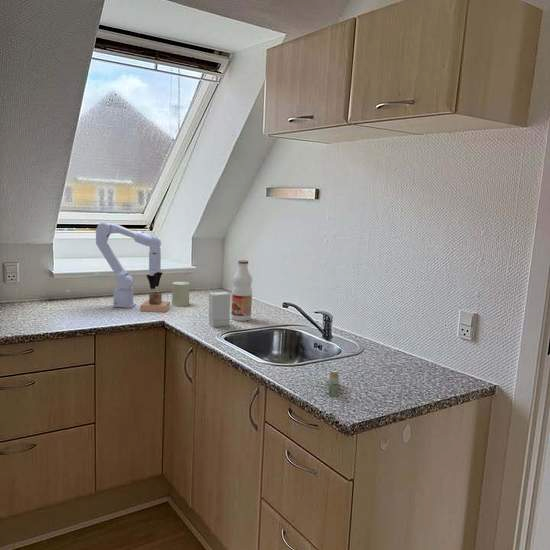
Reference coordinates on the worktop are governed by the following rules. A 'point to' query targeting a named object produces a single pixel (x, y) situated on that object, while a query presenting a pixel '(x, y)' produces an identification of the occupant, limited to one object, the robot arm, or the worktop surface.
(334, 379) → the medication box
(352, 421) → the worktop surface
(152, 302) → the walnut cube
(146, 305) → the tan rectangular block
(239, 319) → the fruit juice
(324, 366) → the worktop surface
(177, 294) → the can
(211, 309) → the skincare box
